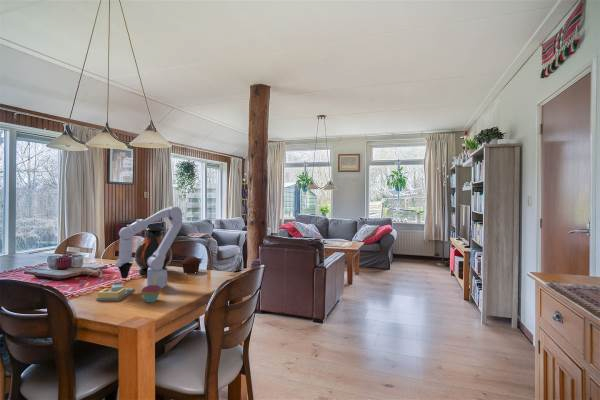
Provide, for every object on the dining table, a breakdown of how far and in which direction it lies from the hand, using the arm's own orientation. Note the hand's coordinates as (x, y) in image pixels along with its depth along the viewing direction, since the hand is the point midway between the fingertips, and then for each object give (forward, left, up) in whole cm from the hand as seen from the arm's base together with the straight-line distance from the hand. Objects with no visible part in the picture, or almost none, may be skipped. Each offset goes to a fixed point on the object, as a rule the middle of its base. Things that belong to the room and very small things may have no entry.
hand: (124, 278), depth 160 cm
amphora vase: (0, -40, -7) cm, 40 cm away
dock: (0, +8, -6) cm, 10 cm away
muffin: (-23, -41, -7) cm, 47 cm away
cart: (0, +7, -5) cm, 9 cm away
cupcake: (-19, +16, -7) cm, 26 cm away
